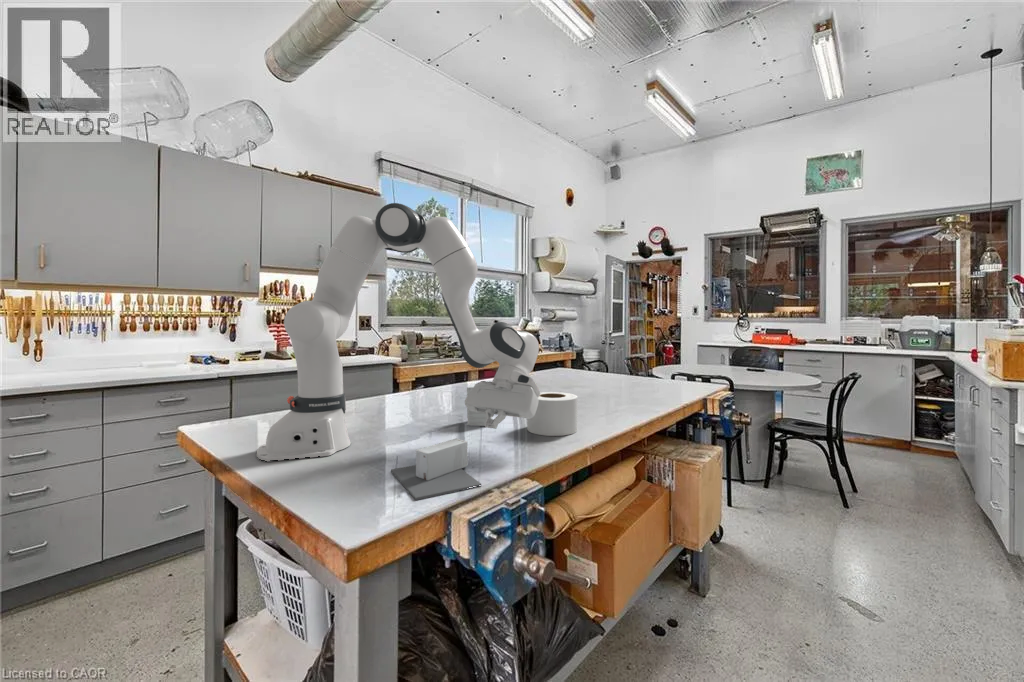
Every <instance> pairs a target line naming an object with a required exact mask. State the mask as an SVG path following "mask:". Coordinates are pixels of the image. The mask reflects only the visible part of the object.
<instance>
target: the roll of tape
mask: <svg viewBox="0 0 1024 682" xmlns="http://www.w3.org/2000/svg"><path fill="white" fill-rule="evenodd" d="M538 400H539V402H538V407H537V410H536V413H535V415H534V416H533V417H532V418H530V419H527V418H526V420H527V421H526V423H527V424H526V425H527V426H526V429H527V431H528V433H529V432H530V433H532V434H534V435H538V436H546V437H555V436H556V437H558V436H559V437H563V436H568V435H572V434H575V433H576V432H577V431H578V395H576V394H573V393H569V392H561V391H560V392H557V391H542V392H541V391H540V396H539V397H538Z"/></svg>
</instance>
